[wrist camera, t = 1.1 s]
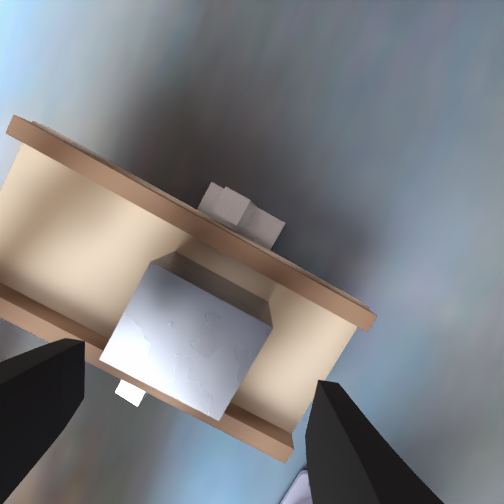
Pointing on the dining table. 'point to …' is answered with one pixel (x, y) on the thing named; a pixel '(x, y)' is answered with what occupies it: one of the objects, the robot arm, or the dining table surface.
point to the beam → (134, 266)
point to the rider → (189, 333)
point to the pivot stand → (238, 219)
